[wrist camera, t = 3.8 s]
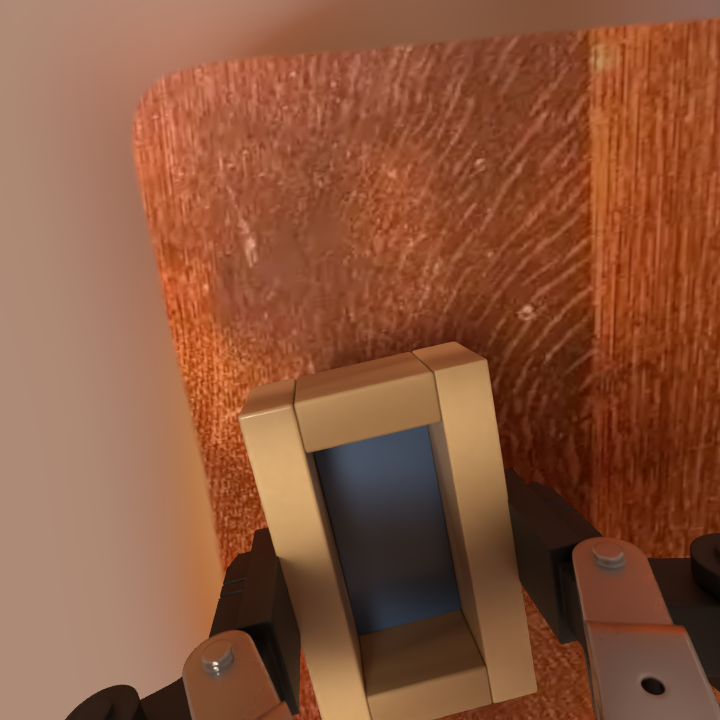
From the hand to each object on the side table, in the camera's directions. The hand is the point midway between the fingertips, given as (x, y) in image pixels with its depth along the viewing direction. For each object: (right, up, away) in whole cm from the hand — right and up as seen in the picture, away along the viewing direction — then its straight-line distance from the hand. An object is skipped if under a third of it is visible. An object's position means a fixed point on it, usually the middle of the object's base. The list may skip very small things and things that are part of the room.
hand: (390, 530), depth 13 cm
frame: (0, 0, +1) cm, 1 cm away
